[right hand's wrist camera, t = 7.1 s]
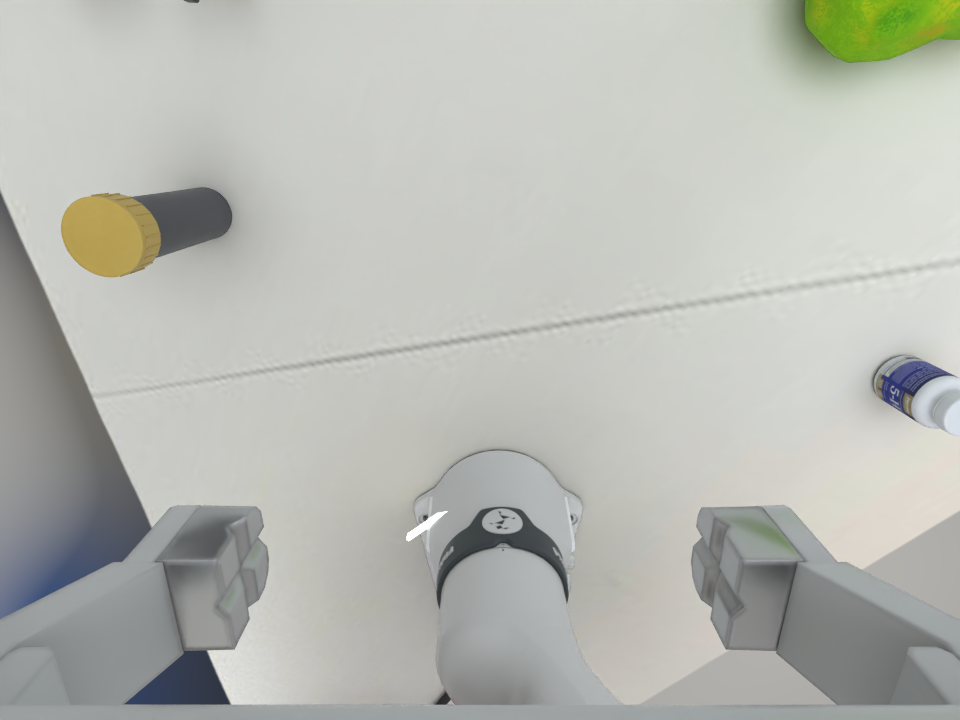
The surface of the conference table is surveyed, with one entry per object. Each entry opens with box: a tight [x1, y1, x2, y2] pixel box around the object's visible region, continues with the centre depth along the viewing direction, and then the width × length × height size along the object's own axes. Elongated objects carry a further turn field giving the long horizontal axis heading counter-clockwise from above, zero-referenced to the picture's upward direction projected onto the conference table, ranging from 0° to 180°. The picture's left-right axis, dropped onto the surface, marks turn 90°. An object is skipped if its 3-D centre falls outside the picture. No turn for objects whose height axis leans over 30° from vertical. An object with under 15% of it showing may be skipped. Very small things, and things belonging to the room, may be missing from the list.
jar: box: [131, 188, 232, 258], centre depth 46 cm, size 5×5×15 cm
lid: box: [61, 193, 161, 277], centre depth 40 cm, size 6×6×2 cm
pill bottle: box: [874, 356, 960, 436], centre depth 55 cm, size 5×5×9 cm
